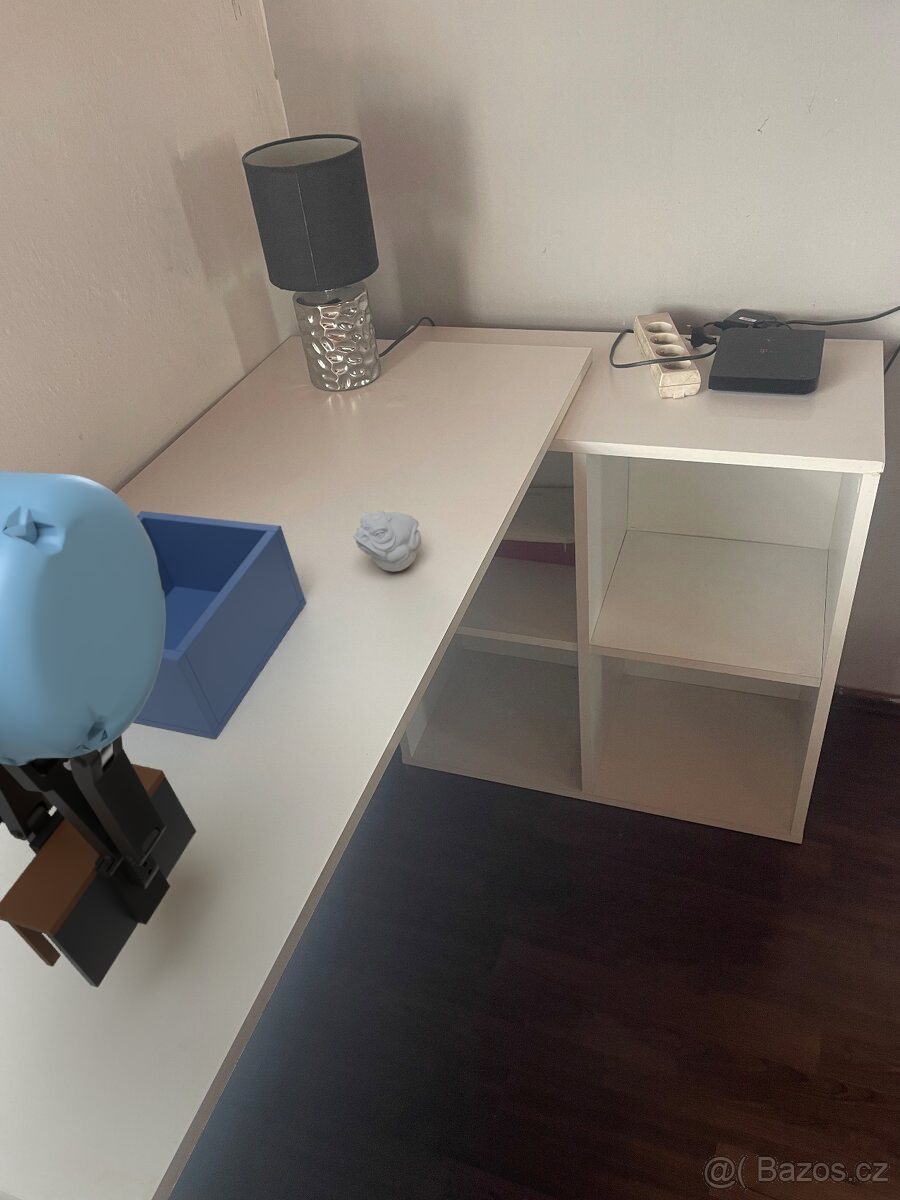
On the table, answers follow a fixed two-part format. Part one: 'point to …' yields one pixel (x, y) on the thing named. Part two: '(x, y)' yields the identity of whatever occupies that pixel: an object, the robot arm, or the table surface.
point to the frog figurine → (389, 539)
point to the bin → (216, 615)
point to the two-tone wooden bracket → (87, 890)
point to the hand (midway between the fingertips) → (122, 894)
